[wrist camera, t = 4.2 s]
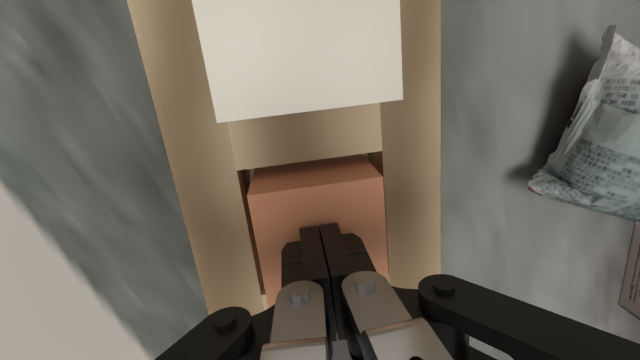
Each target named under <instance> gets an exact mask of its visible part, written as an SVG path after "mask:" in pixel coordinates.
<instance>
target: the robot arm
mask: <svg viewBox="0 0 640 360" xmlns="http://www.w3.org/2000/svg"><path fill="white" fill-rule="evenodd" d="M299 233H300V241H295V242H288V243H286V245H285V246H284V247H283V249H282V250H281V259H282V260H281V266H282V267H281V290H280V291H279V292H278V294H277V296H276V302H275V304H274V305H273V306H271V307H270V308H268V309H267V310H265V311H263V312H260V313H258V314H255V315H253V316H251V314H250V312H249V311H248V310H247V309H245V308H242V307H237V306H232V307H226V308H223V309H220V310H218V311H215V312H214V313H212V314H210V315H209V316H208V317H207V318H205V319H204V320H203V321H202V322H200V323H199V324H198V325H197V326H195V327H194V328H193V329H192V330H191V331H189V332H188V333H187V334H186V335H184V336H183V337H182V338H181V339H179V340H178V341H177V342H176V343H175V344H173V345H172V346H171V347H170V348H168V349H167V350H166V351H165V352H164V353H162V354H161V355H160V356H159V357H157V358H156V359H155V360H332V356H333V347H332V342H334V341H337V338H336V330H335V325H336V329H337V334H338V339H339V340H345V339H346V340H347V344H348V352H349V360H497V359H495V358H493V357H491V356H489V355H487V354H485V353H483V352H481V351H479V350H477V349H475V348H473V347H471V346H469V336H471V337H473V338H475V339H477V340H480V341H482V342H484V343H486V344H488V345H490V346H492V347H494V348H496V349H498V350H501V351H503V352H505V353H506V354H508V355H509V356H511V357H512V358H513V359H514V360H640V344H638V343H635V342H632V341H630V340H627V339H624V338H622V337H619V336H616V335H613V334H611V333H608V332H605V331H602V330H600V329H597V328H594V327H591V326H589V325H586V324H583V323H580V322H578V321H575V320H572V319H569V318H567V317H564V316H561V315H558V314H556V313H553V312H550V311H547V310H545V309H542V308H539V307H537V306H534V305H531V304H528V303H526V302H523V301H520V300H517V299H515V298H512V297H509V296H506V295H504V294H501V293H498V292H495V291H493V290H490V289H487V288H484V287H482V286H479V285H476V284H473V283H471V282H468V281H465V280H463V279H460V278H457V277H454V276H451V275H445V274H434V275H430V276H427V277H425V278H423V279H422V280H421V281H420V282H419V284H418V289H405V288H398V287H394V286H391V285H390V283H389V282H388V280H387V279H386V278H385V277H384V276H383V275H381V274H379V273H377V271H376V269H375V267H374V265H373V263H372V260H371V258H370V256H369V254H368V253H367V250H366V248H365V246H364V244H363V241H362V239H361V238H360V237H358V236H357V235H355V234H354V233H348V234H341V231H340V228H339V226H338V223H330V224H323V225H319V230H318V226H310V227H303V228H299ZM319 233H320V235H319ZM334 320H335V321H334Z"/></svg>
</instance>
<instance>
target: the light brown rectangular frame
mask: <svg viewBox="0 0 640 360" xmlns="http://www.w3.org/2000/svg"><path fill="white" fill-rule="evenodd" d="M127 3H128V7H129V11H130V14H131V18H132V22H133V26H134V30H135V34H136V37H137V41H138V45H139V49H140V53H141V57H142V61H143V64H144V68H145V72H146V76H147V80H148V84H149V87H150V91H151V95H152V99H153V103H154V107H155V110H156V114H157V118H158V122H159V126H160V130H161V133H162V137H163V141H164V145H165V149H166V153H167V156H168V160H169V164H170V168H171V172H172V176H173V179H174V183H175V187H176V191H177V195H178V199H179V202H180V206H181V210H182V214H183V218H184V222H185V225H186V229H187V233H188V237H189V241H190V245H191V248H192V252H193V256H194V260H195V264H196V268H197V272H198V275H199V279H200V283H201V287H202V291H203V295H204V298H205V302H206V306H207V310H208V314H209V315H210V314H212V313H214V312H215V311H218V310H220V309H223V308H226V307H232V306H237V307H242V308H245V309H247V310H248V311H249V312H250V314H251V316H253V315H255V314H258V313H260V312H263V311H265V310H267V309H268V303H267V298H266V293H265V288H264V282H263V277H262V272H261V267H260V261H259V256H258V251H257V246H256V241H255V235H254V230H253V225H252V220H251V215H250V209H249V204H248V199H247V194H248V190H249V187H250V183H251V180H252V176H253V172H254V169H255V168H260V167H267V166H274V165H282V164H289V163H297V162H304V161H311V160H319V159H326V158H334V157H341V156H348V155H356V154H362V155H363V156H364V157H365V158H366V159H367V160H368V161H369V162H370V163H371V164H372V165H373V167H374V168H375V169H376V170H377V171H378V172H379V173H380V174H381V175H382V176H383V185H384V203H385V221H386V239H387V257H388V275H389V283H390V285H391V286H394V287H398V288H405V289H418V284H419V282H420V281H421V280H422V279H423V278H425V277H427V276H430V275H434V274H441V0H400V21H401V51H402V81H403V100H396V101H388V102H380V103H372V104H364V105H356V106H348V107H341V108H333V109H325V110H317V111H309V112H301V113H293V114H285V115H277V116H269V117H261V118H253V119H245V120H237V121H229V122H221V123H217V121H216V116H215V111H214V107H213V102H212V97H211V92H210V87H209V82H208V78H207V73H206V68H205V63H204V58H203V53H202V48H201V44H200V39H199V34H198V29H197V24H196V19H195V15H194V10H193V5H192V0H127ZM334 321H335V320H334ZM335 330H336V332H337V329H336V325H335Z"/></svg>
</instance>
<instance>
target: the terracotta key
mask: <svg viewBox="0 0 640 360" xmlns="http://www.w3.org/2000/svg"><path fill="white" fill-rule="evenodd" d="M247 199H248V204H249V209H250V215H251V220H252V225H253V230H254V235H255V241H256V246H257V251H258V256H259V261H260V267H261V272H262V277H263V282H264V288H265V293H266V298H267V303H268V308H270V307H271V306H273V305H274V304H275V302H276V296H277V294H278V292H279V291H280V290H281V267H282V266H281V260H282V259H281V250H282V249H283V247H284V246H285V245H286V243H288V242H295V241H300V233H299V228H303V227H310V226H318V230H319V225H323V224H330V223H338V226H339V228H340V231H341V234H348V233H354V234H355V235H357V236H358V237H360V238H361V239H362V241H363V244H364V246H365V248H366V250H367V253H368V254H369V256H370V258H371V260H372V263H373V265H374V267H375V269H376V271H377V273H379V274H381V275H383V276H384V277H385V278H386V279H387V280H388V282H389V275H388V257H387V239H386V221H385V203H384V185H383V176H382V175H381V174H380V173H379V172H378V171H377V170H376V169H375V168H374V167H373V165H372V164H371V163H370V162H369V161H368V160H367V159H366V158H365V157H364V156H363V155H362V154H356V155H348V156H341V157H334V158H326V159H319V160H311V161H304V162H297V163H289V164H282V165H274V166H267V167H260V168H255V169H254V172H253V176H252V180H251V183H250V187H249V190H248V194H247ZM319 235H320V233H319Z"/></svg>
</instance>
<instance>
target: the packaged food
mask: <svg viewBox="0 0 640 360" xmlns="http://www.w3.org/2000/svg"><path fill="white" fill-rule="evenodd" d="M615 29H616V25H611V26H608V28H607V29H606V31H605V32H604V34H603V36H602V46H601V56H600V57H599V59H598V60H597V61H596V62H595V63H594V65H593V67H592V69H591V71H590V74H589V77H588V80H587V82H586V84H585V86H584V87H583V89H582V92H581V95H580V97H579V101H578V103H577V106H576V108H575V111H574V113H573V115H572V116H571V118H570V120H569V121H568V123H567V124H566V128H565V130H564V132H563V135H562V138H561V140H560V143H559V145H558V148H557V149H556V151H555V152H553V153H551V154H550V155H549V157H548V160H547V163H546V164H545V166H544V167H543V169H538V170H539V172H538V173H537V174H535V175H534V176H533V180H529V181H528V190H530V191H532V192H534V193H537V194H539V195H542V196H545V197H548V198H551V199H554V200H558V201H561V202H565V203H568V204H573V205H577V206H580V207H583V208H586V209H589V210H592V211H597V212H602V213H606V214H610V215H614V216H618V217H622V218H628V219H631V220H633V221H636V222H639V223H640V48H638V47H637V46H634V45H633V44H632V43H631V42H629V41H625V40H624V38H623V37H622V36H620V35H619V34H617V33H615ZM537 175H538V176H537ZM536 176H537V177H536Z"/></svg>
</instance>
